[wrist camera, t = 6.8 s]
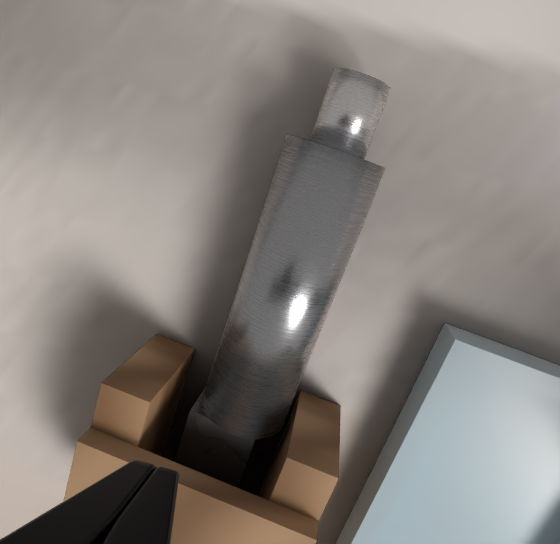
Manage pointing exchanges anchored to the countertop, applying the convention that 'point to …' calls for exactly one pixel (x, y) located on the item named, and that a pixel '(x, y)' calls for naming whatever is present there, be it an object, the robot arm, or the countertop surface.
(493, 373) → the tray
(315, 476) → the socket block
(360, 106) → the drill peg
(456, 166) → the countertop surface
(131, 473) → the robot arm
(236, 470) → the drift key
